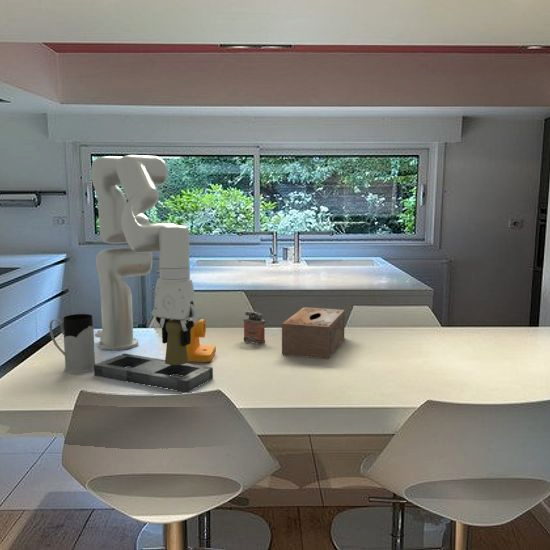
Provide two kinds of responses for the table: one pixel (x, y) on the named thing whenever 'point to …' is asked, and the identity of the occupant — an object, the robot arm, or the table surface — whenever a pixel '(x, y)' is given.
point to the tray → (153, 372)
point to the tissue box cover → (313, 332)
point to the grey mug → (77, 343)
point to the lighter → (254, 328)
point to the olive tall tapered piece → (175, 344)
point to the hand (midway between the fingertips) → (176, 342)
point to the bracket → (197, 350)
